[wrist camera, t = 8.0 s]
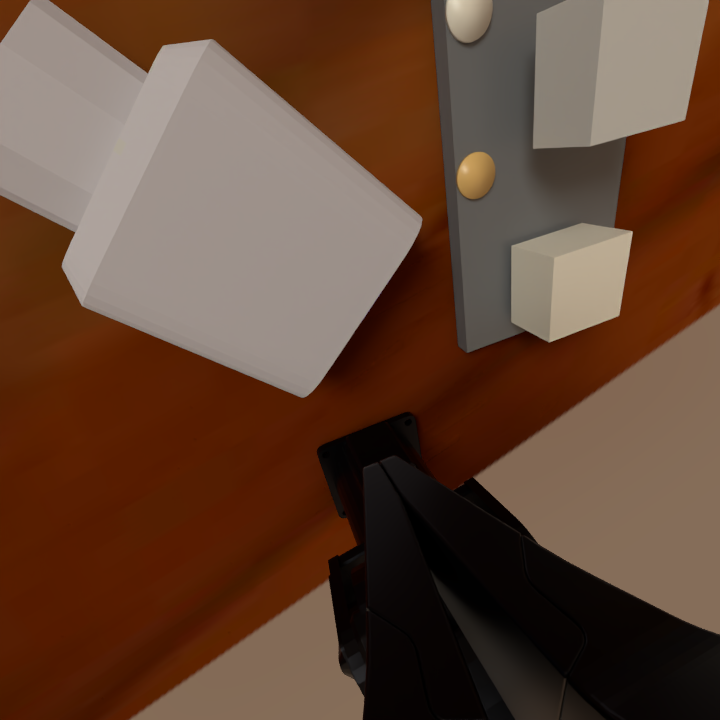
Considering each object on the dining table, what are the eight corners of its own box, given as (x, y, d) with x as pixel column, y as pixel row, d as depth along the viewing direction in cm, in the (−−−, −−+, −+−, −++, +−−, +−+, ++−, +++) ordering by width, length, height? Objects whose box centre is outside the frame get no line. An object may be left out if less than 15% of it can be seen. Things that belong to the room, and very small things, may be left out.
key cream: (574, 298, 23) (619, 315, 21) (511, 322, 22) (549, 342, 20) (582, 222, 21) (632, 231, 18) (511, 245, 20) (554, 257, 18)
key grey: (616, 125, 17) (685, 120, 15) (532, 148, 17) (590, 146, 14) (632, -6, 15) (716, -39, 13) (536, 13, 14) (605, -18, 12)
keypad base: (590, 297, 25) (606, 303, 24) (458, 346, 24) (469, 354, 23) (671, -395, 13) (711, -443, 12) (398, -405, 11) (417, -463, 10)
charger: (8, -101, 11) (385, 206, 19) (-90, 183, 13) (287, 359, 21) (-106, -244, 7) (431, 219, 15) (-222, 194, 9) (305, 407, 17)
